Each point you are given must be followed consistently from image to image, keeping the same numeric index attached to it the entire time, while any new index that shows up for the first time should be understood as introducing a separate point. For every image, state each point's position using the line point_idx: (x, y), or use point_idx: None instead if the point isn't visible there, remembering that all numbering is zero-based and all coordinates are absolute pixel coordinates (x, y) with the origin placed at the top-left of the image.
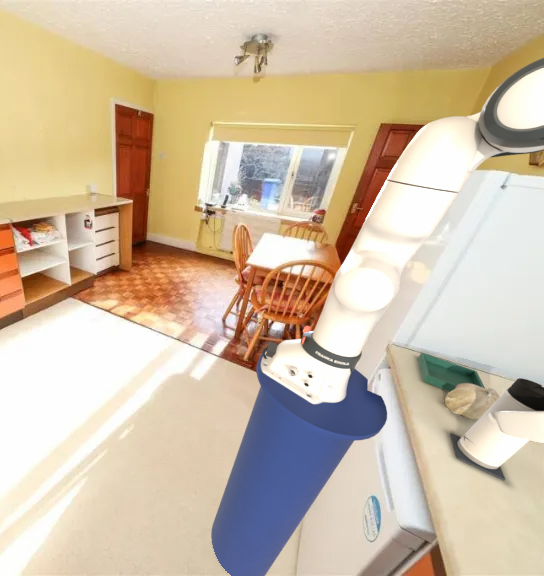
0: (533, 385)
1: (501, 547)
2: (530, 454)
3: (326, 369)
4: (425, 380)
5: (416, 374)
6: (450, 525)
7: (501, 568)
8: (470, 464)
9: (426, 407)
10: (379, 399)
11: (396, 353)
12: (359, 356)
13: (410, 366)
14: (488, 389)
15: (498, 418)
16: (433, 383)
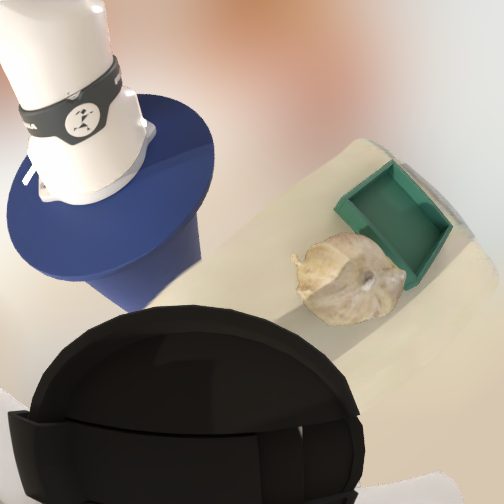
0: (259, 407)
1: None
2: (358, 405)
3: (31, 138)
4: (336, 208)
5: (338, 192)
6: None
7: None
8: None
9: (252, 263)
10: (174, 218)
11: (349, 147)
12: (52, 106)
13: (347, 175)
14: (389, 270)
15: None
16: (348, 219)
